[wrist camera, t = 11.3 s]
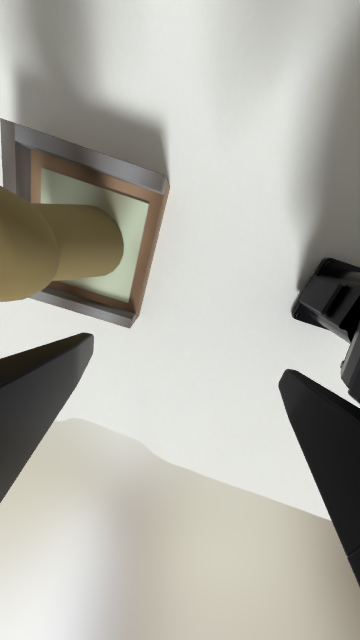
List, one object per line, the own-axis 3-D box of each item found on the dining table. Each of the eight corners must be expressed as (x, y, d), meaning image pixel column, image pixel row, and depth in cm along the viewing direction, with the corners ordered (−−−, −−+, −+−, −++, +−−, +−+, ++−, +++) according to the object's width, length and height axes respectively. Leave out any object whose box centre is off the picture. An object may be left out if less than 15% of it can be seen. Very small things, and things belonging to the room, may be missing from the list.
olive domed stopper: (91, 288, 19) (-23, 342, 9) (44, 234, 18) (-156, 226, 8) (137, 252, 18) (62, 269, 8) (91, 188, 16) (-84, 100, 6)
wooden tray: (170, 187, 18) (164, 175, 14) (138, 315, 23) (129, 328, 19) (37, 141, 17) (0, 118, 14) (35, 283, 22) (7, 291, 19)
